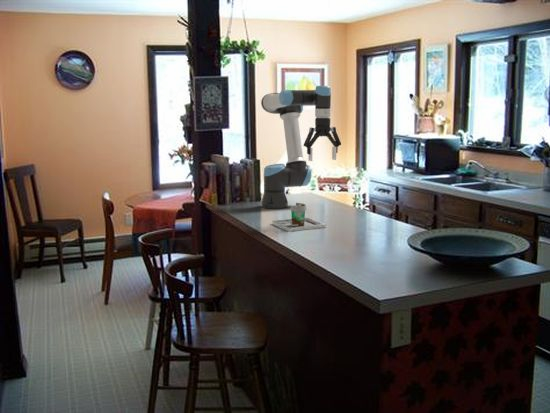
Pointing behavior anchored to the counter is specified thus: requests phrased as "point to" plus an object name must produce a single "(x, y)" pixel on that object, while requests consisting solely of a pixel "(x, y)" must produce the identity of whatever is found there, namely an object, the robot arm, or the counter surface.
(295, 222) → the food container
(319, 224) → the grey square frame
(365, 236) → the counter surface
